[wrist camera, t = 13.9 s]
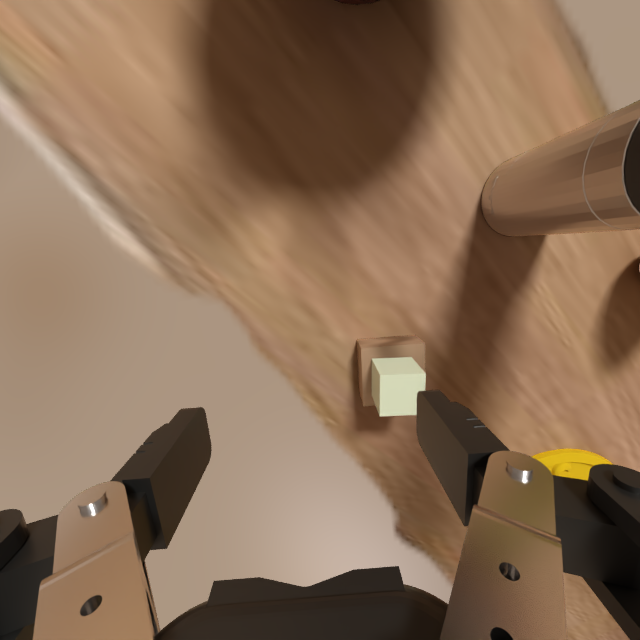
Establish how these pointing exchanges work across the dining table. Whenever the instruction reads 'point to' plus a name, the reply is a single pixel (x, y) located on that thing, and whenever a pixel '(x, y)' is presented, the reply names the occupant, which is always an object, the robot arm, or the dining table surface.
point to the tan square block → (385, 349)
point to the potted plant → (356, 1)
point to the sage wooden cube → (396, 385)
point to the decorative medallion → (570, 462)
